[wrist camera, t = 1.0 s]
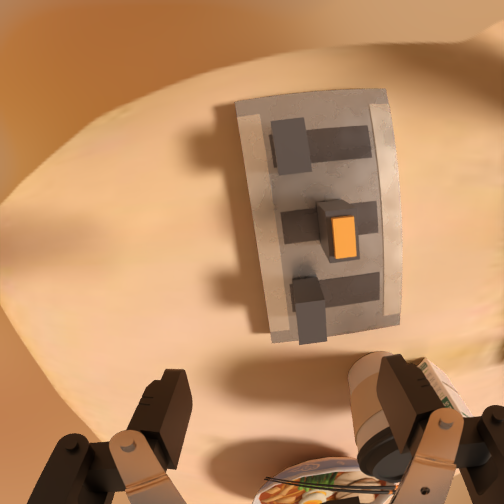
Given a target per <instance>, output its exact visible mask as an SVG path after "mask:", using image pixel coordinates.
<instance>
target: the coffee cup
mask: <svg viewBox="0 0 504 504" xmlns="http://www.w3.org/2000/svg"><path fill="white" fill-rule="evenodd" d="M390 355H393V354H391V353H389V352H374V353H370V354H368V355H366V356H364V357H362V358H360V359H359V360H358V361H357V362H356V363H355V364H354V365H353V366H352V367H351V369H350V371H349V374H348V383H349V389H350V395H351V398H350V405H351V412H352V419H353V427H354V435H355V442H356V445H357V446H358V456H357V462H358V464H359V468H360V470H361V472H362V473H364V474H366V475H368V476H371V477H375V478H376V479H379V480H384V481H386V482H389V483H397V482H401V480H402V478H403V476H404V473H405V471H406V469H407V467H408V465H409V462H410V460H411V458H412V455H411V453H410V452H408V453H405V454H400V451H399V449H398V446H397V444H396V441H395V439H394V436H393V434H392V431H391V429H390V426H389V424H388V421H387V419H386V416H385V414H384V412H383V409H382V407H381V404H380V402H379V400H378V397H377V391H376V386H377V380H378V375H379V369H380V364H381V359H382V357H384V356H390Z"/></svg>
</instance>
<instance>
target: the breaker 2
mask: <svg viewBox="0 0 504 504" xmlns="http://www.w3.org/2000/svg"><path fill="white" fill-rule="evenodd" d="M292 283H293V292H294V301H295V310H296V319H297V328H298V337H299V345H302V344H310V343H318V342H325V341H327V328H326V310H325V299H324V296H323V293H322V290H321V287H320V284H319V281H318V278H317V277H314V278H306V279H298V280H292Z"/></svg>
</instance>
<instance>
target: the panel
mask: <svg viewBox="0 0 504 504" xmlns="http://www.w3.org/2000/svg"><path fill="white" fill-rule="evenodd" d="M235 107H236V114H237V121H238V127H239V133H240V139H241V146H242V152H243V158H244V165H245V171H246V177H247V184H248V190H249V196H250V203H251V209H252V216H253V222H254V229H255V235H256V242H257V248H258V255H259V261H260V268H261V274H262V281H263V287H264V294H265V300H266V307H267V314H268V320H269V327H270V333H271V340H272V343H280V342H289V341H298V340H299V337H298V328H297V319H296V310H295V301H294V292H293V283H292V280H298V279H306V278H314V277H317V278H318V281H319V284H320V287H321V290H322V293H323V296H324V299H325V310H326V328H327V337H329V336H336V335H342V334H349V333H355V332H361V331H367V330H373V329H379V328H384V327H390V326H395V325H400V313H401V298H402V216H401V198H400V184H399V173H398V163H397V154H396V146H395V138H394V131H393V124H392V118H391V112H390V106H389V103H388V97H387V92H386V89H347V90H329V91H315V92H304V93H294V94H285V95H277V96H269V97H262V98H255V99H249V100H243V101H237V102H235ZM301 117H304V120H305V127H306V133H307V139H308V146H309V153H310V160H311V167H312V172H305V173H296V174H288V175H281V176H279V174H278V169H277V162H276V156H275V149H274V143H273V136H272V130H271V122H270V121H276V120H284V119H292V118H301ZM334 200H344V201H346V202H347V203H349V204H351V205H352V206H354V207H356V208H357V220H358V234H359V251H360V259H359V260H352V261H344V262H337V263H329V261H328V259H327V257H326V255H325V253H324V251H323V249H322V247H321V241H320V231H319V222H318V212H317V204H316V202H325V201H334Z"/></svg>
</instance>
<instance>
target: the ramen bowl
mask: <svg viewBox="0 0 504 504" xmlns="http://www.w3.org/2000/svg"><path fill="white" fill-rule="evenodd" d="M266 478H268V479H264V480H268V482H267V483H266V484H264V485H263V486H262V487H261V489H260V490H259V491H258V493H257V494H256V495H255V498H254V500H253V502H252V504H320V503H323V502H326V501H331V500H338V499H344V498H350V497H355V496H359V500H360V503H368V504H384V503H385V502H386V501H387V500H388V499H389V498H390V497H391V496H392V495H393V494H395V492H396V490H394V489H397V488H398V486H399V485H397V486H396V483H389V482H386V481H384V480H379V479H376V478H375V477H371V476H368V475H366V474H364V473H362V472H361V470H360V468H359V464H358V462H357V459H355V458H352V457H326V458H320V459H314V460H309V461H306V462H303V463H300V464H297V465H295V466H292V467H289V468H286V469H285V470H283V471H282V472H280V473H279V474H277V475H276V476H274V477H273V478H270V477H266ZM269 479H270V480H269Z"/></svg>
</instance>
